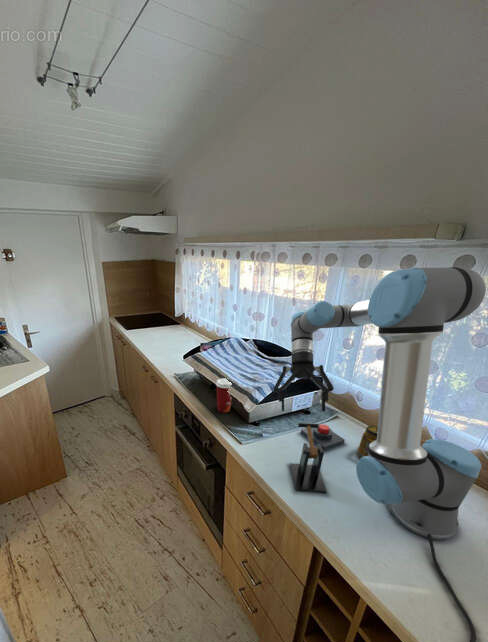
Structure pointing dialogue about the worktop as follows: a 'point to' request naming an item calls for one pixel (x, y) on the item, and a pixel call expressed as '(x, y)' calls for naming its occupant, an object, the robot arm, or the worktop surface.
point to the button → (323, 429)
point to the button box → (324, 438)
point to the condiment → (367, 441)
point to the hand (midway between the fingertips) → (302, 410)
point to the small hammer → (310, 438)
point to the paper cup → (223, 395)
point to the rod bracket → (308, 472)
